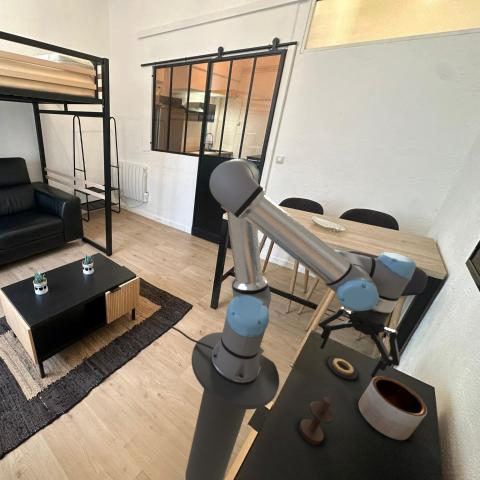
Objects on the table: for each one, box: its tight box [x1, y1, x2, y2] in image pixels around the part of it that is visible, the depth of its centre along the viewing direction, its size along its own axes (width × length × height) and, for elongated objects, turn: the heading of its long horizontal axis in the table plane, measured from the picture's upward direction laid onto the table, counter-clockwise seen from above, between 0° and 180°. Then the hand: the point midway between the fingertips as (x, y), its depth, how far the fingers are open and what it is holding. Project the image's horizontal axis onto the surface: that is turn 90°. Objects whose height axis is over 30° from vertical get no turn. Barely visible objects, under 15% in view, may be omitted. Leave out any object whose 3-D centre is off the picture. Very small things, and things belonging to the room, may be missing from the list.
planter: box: [358, 375, 428, 441], centre depth 65 cm, size 11×11×10 cm
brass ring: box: [332, 357, 355, 375], centre depth 81 cm, size 5×5×1 cm
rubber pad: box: [327, 356, 358, 381], centre depth 81 cm, size 8×8×1 cm
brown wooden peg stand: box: [298, 396, 334, 446], centre depth 60 cm, size 5×5×12 cm
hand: (346, 359), depth 79 cm, fingers open, 13 cm apart
